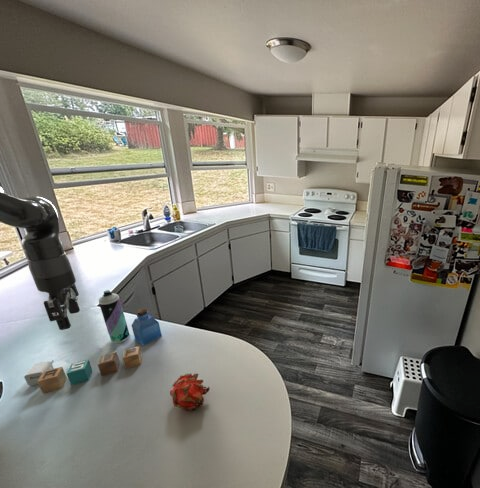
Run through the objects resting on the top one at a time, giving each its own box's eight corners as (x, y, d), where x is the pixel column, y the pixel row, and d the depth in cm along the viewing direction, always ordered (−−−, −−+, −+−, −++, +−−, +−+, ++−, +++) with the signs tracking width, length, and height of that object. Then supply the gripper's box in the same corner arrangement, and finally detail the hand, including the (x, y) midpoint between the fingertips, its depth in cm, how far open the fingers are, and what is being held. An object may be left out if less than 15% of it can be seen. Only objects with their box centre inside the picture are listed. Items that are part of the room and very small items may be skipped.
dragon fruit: (182, 391, 75) (205, 418, 69) (155, 397, 68) (177, 428, 62) (197, 364, 76) (220, 389, 70) (172, 367, 69) (196, 395, 63)
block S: (71, 385, 74) (66, 373, 72) (75, 375, 77) (71, 363, 76) (88, 380, 76) (84, 368, 74) (92, 370, 79) (88, 359, 78)
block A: (42, 393, 71) (37, 381, 70) (48, 382, 74) (43, 371, 73) (61, 387, 73) (56, 376, 71) (66, 377, 76) (62, 366, 75)
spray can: (107, 341, 91) (91, 294, 84) (122, 332, 96) (108, 286, 89) (119, 344, 90) (104, 296, 83) (133, 334, 95) (120, 288, 88)
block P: (125, 369, 80) (122, 357, 78) (127, 360, 83) (124, 349, 82) (140, 364, 82) (137, 353, 80) (142, 356, 85) (139, 345, 84)
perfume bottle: (161, 335, 95) (155, 309, 91) (143, 345, 90) (136, 317, 86) (153, 329, 98) (146, 303, 94) (135, 339, 93) (127, 311, 89)
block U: (101, 376, 77) (97, 364, 76) (104, 367, 80) (100, 355, 79) (117, 371, 79) (114, 360, 78) (120, 362, 82) (116, 351, 81)
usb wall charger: (28, 385, 73) (23, 375, 72) (42, 368, 79) (38, 358, 78) (46, 381, 75) (41, 371, 73) (59, 364, 81) (55, 355, 79)
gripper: (44, 263, 72) (62, 311, 78) (19, 285, 61) (42, 339, 66) (78, 259, 76) (93, 304, 82) (61, 278, 65) (80, 330, 70)
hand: (70, 320), depth 74 cm, fingers open, 8 cm apart
